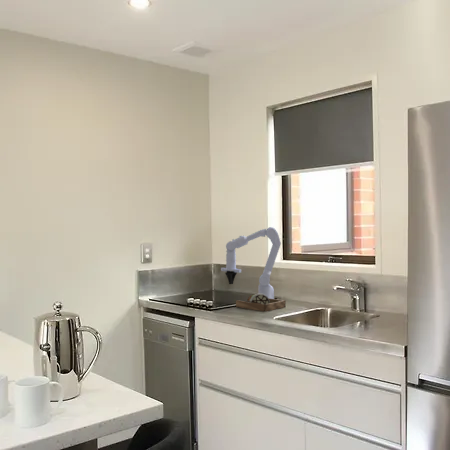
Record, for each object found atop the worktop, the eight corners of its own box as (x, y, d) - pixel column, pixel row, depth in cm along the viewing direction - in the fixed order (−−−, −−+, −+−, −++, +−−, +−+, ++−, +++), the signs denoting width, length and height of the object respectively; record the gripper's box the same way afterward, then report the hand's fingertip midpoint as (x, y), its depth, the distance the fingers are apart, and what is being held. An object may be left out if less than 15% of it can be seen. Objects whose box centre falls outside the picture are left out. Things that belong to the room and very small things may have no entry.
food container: (267, 295, 297) (274, 297, 287) (264, 306, 296) (270, 308, 286) (247, 289, 294) (253, 290, 284) (244, 299, 293) (250, 301, 283)
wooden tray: (256, 302, 305) (256, 296, 305) (285, 306, 291) (285, 300, 291) (235, 306, 291) (235, 300, 291) (265, 311, 278) (265, 304, 278)
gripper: (217, 261, 314) (217, 283, 314) (235, 262, 304) (235, 285, 305) (225, 260, 319) (225, 282, 320) (243, 261, 310) (243, 284, 310)
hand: (231, 283), depth 312 cm, fingers closed
